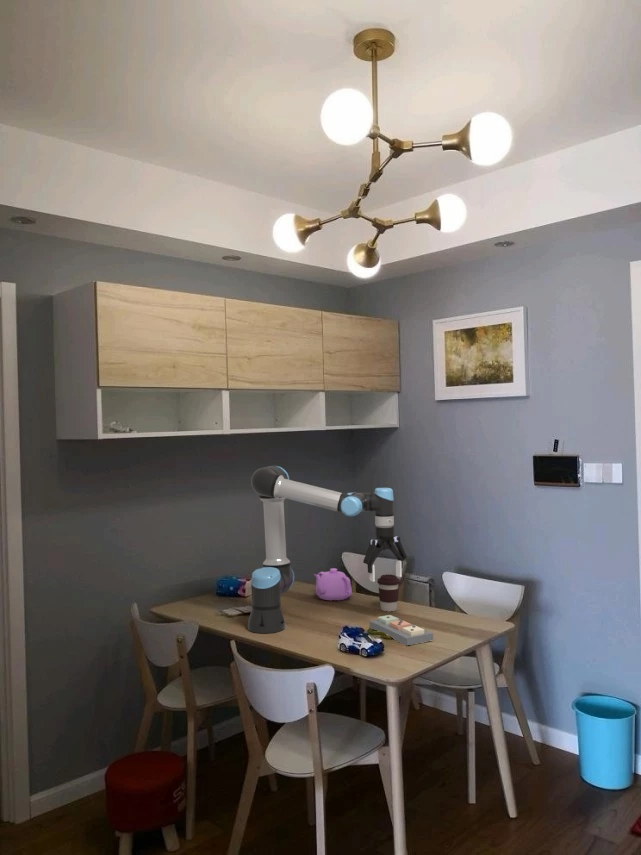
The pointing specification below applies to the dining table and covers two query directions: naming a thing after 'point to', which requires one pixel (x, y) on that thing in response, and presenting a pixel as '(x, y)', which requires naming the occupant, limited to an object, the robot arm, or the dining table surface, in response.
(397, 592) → the coffee cup
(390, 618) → the tile one
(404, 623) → the tile three
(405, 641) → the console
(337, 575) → the teapot
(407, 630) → the tile two
